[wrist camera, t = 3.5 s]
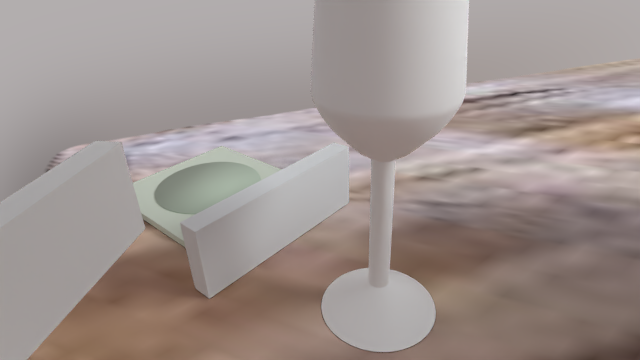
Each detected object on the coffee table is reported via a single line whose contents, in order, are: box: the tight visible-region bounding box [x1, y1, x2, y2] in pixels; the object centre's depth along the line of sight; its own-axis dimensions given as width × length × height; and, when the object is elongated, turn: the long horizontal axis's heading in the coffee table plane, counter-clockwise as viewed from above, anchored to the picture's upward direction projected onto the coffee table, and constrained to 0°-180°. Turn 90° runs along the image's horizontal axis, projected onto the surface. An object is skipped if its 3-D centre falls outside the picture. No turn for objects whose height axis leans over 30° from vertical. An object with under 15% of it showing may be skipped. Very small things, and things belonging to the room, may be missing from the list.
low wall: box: [180, 143, 349, 299], centre depth 30 cm, size 14×2×5 cm, turn 139°
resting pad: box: [133, 146, 281, 248], centre depth 38 cm, size 12×12×1 cm
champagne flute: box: [311, 0, 469, 352], centre depth 20 cm, size 7×7×24 cm
